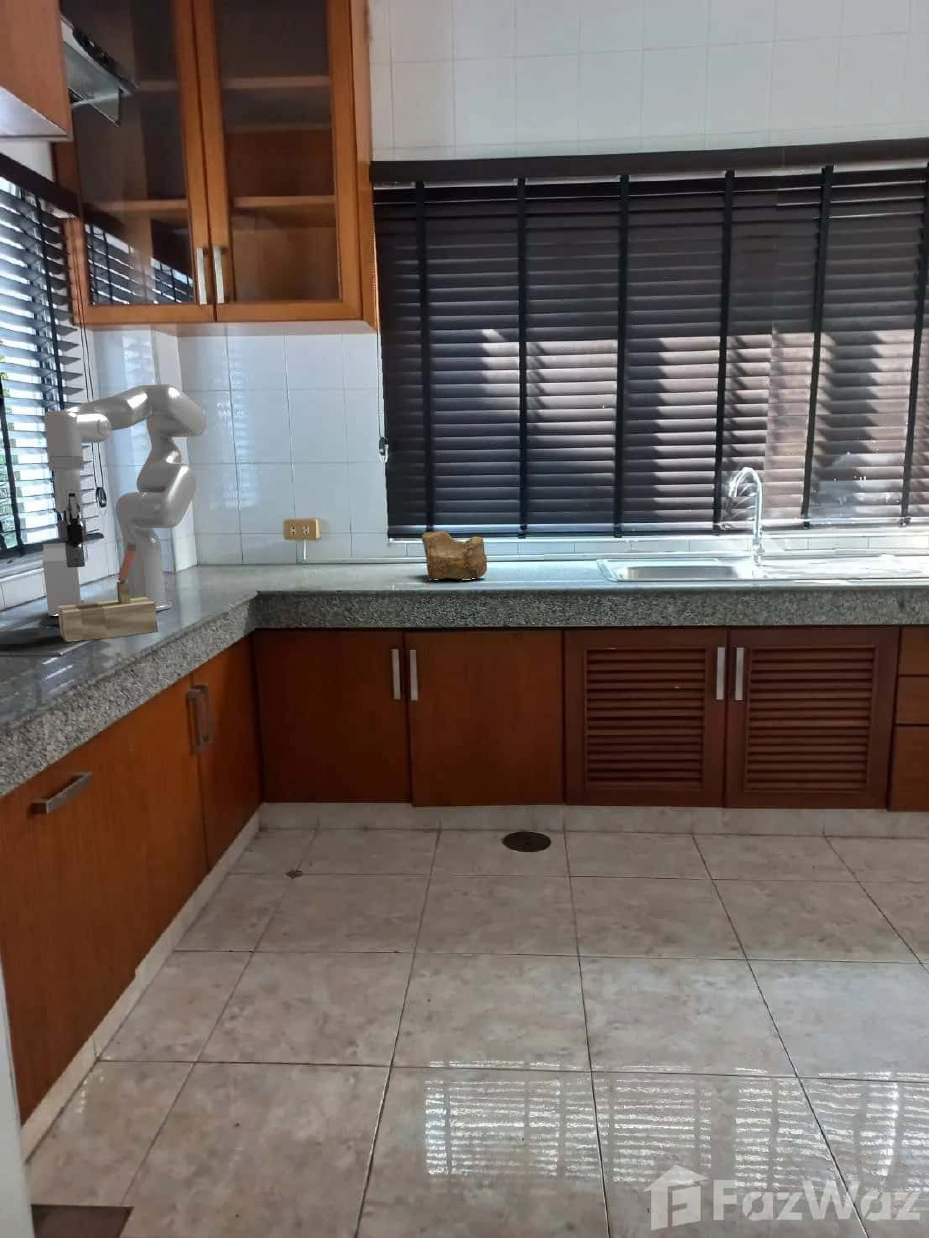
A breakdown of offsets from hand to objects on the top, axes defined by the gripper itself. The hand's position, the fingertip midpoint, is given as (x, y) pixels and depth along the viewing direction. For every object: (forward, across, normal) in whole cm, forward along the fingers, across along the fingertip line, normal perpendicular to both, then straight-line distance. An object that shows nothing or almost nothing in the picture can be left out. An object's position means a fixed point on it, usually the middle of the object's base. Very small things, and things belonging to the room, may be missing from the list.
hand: (73, 539), depth 202 cm
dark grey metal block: (+6, 0, 0) cm, 6 cm away
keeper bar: (+5, +9, +10) cm, 14 cm away
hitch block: (+22, +9, +5) cm, 24 cm away
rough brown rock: (+21, -13, +111) cm, 114 cm away
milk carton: (+22, -23, -1) cm, 32 cm away
